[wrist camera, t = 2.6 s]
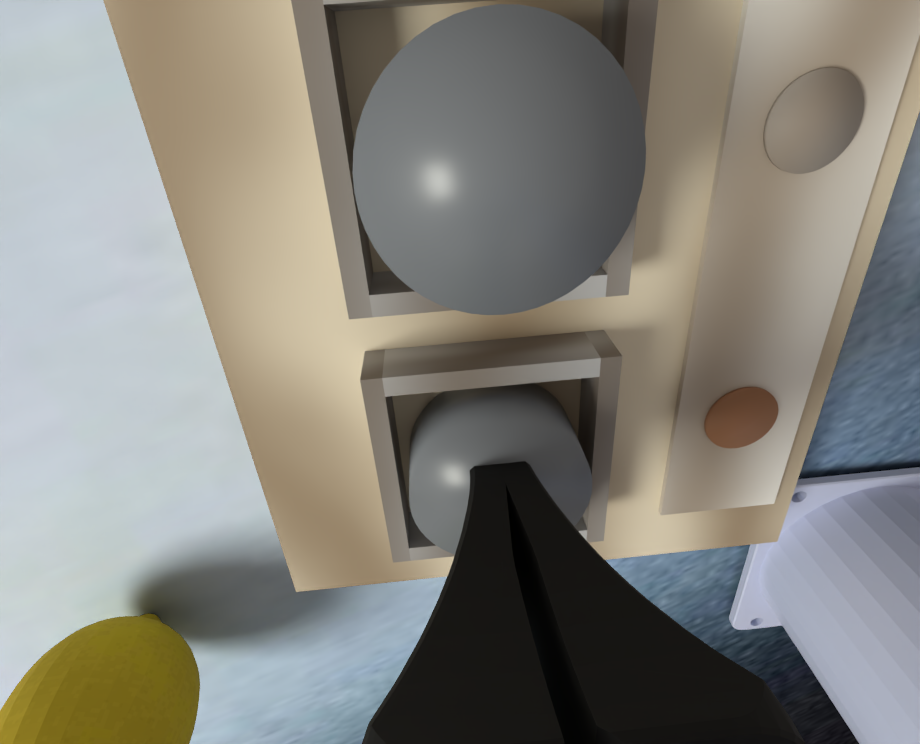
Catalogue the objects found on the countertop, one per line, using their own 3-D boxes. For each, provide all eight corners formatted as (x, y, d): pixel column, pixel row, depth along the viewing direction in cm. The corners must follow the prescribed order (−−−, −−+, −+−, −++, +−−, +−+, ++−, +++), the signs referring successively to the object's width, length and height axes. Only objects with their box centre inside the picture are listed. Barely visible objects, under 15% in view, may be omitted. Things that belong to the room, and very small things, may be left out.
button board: (1169, -1053, 7) (1752, -1907, 4) (745, 499, 20) (803, 576, 17) (-157, -1047, 6) (-671, -2041, 3) (306, 544, 19) (287, 631, 16)
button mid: (614, 5, 9) (663, -8, 7) (596, 265, 11) (631, 303, 9) (343, 24, 9) (326, 15, 7) (380, 283, 11) (374, 326, 9)
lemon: (212, 563, 19) (101, 842, 13) (238, 657, 22) (159, 926, 15) (49, 569, 19) (-160, 861, 12) (96, 663, 22) (-51, 945, 15)
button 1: (574, 368, 14) (598, 412, 12) (568, 497, 16) (587, 551, 14) (400, 384, 14) (398, 431, 12) (418, 512, 16) (419, 569, 14)
